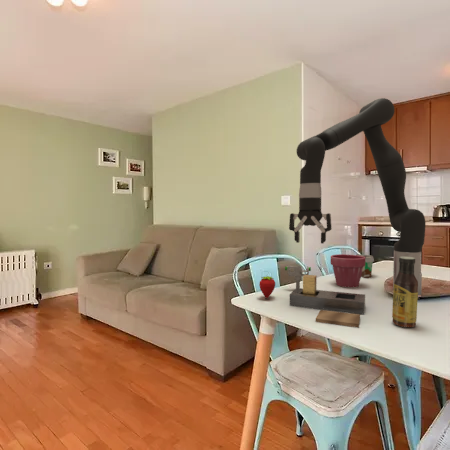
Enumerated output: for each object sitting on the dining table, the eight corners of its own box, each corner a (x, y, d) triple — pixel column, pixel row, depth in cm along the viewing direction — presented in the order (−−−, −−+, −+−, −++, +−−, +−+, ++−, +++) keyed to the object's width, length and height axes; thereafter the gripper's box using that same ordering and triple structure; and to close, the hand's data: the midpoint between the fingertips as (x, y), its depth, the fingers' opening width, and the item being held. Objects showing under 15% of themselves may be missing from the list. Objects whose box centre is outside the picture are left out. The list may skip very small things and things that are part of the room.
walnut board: (360, 317, 101) (360, 314, 101) (358, 327, 93) (358, 324, 93) (320, 312, 106) (320, 309, 106) (315, 321, 98) (315, 318, 98)
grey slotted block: (365, 305, 113) (365, 294, 113) (364, 314, 104) (364, 302, 104) (296, 298, 123) (296, 287, 123) (289, 305, 114) (289, 294, 114)
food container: (378, 278, 154) (378, 257, 154) (365, 278, 154) (365, 258, 154) (367, 273, 166) (367, 254, 166) (355, 273, 166) (355, 254, 166)
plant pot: (349, 280, 152) (349, 253, 151) (372, 287, 138) (373, 257, 138) (323, 283, 147) (323, 255, 146) (345, 290, 133) (345, 259, 133)
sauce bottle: (387, 321, 98) (388, 255, 97) (407, 320, 98) (408, 255, 97) (401, 329, 91) (402, 259, 90) (422, 328, 92) (423, 258, 91)
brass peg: (316, 303, 117) (316, 275, 116) (314, 306, 113) (314, 277, 113) (305, 301, 119) (305, 274, 118) (302, 304, 115) (302, 276, 114)
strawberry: (277, 296, 126) (277, 270, 125) (272, 301, 119) (272, 274, 118) (263, 294, 128) (262, 269, 128) (256, 300, 121) (256, 273, 121)
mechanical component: (310, 291, 132) (310, 267, 132) (285, 290, 134) (285, 266, 134) (310, 289, 135) (310, 266, 135) (285, 288, 137) (285, 265, 137)
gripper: (332, 196, 114) (332, 242, 115) (292, 197, 120) (292, 241, 121) (330, 196, 107) (329, 244, 108) (287, 196, 113) (287, 243, 114)
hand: (309, 242), depth 115 cm, fingers open, 8 cm apart
